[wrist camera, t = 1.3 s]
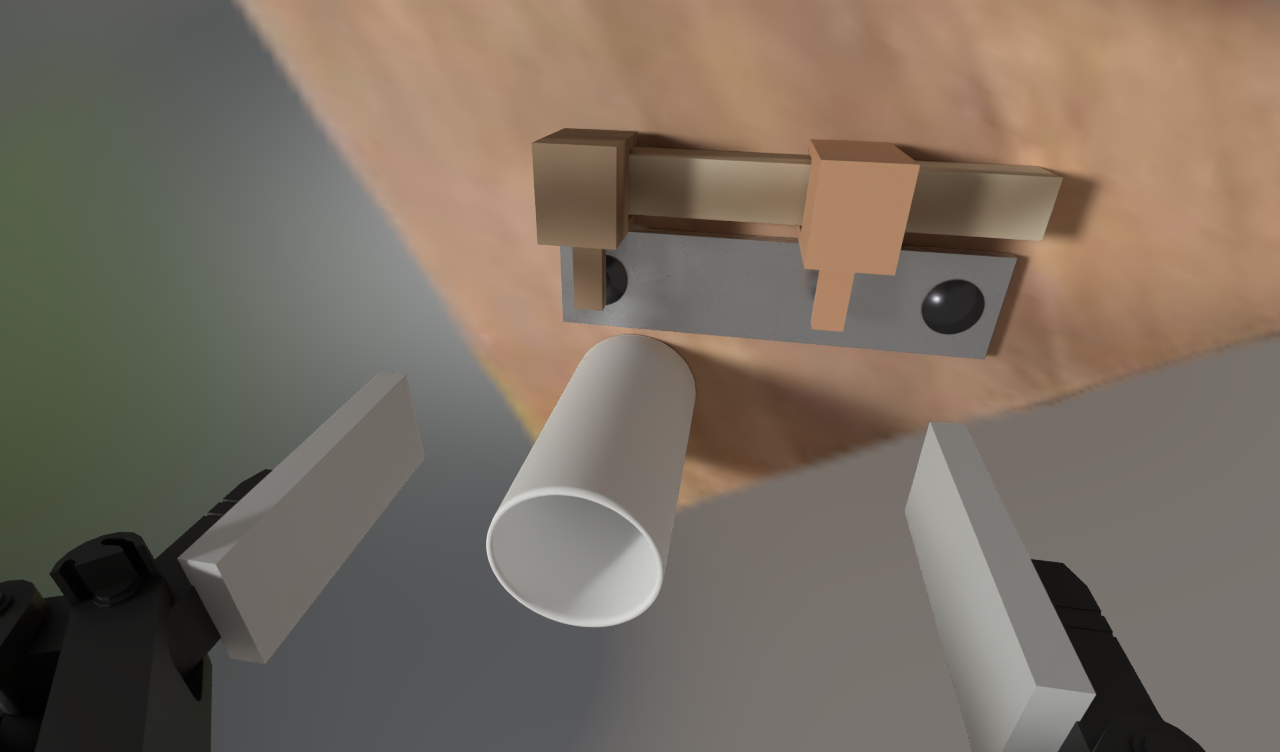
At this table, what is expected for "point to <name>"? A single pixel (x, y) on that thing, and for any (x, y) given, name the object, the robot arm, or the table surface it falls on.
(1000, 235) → the beam
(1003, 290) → the bolt strip
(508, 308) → the table surface
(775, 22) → the table surface
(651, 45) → the table surface
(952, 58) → the table surface
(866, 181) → the block
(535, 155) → the fixed leg
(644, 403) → the cup
